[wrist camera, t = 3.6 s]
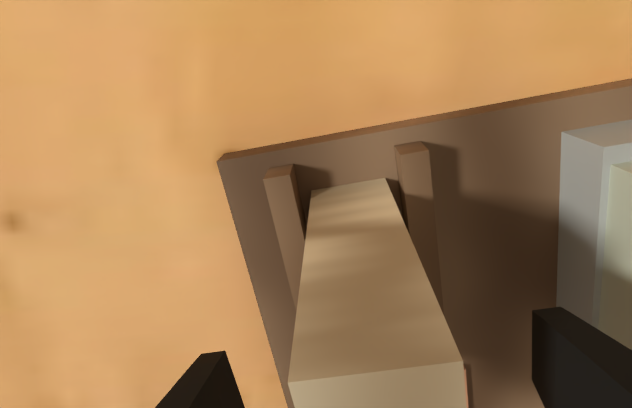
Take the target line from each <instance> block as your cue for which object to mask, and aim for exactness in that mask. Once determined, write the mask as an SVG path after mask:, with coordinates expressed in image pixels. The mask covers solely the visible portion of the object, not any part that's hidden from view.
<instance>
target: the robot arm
mask: <svg viewBox="0 0 632 408" xmlns="http://www.w3.org/2000/svg"><path fill="white" fill-rule="evenodd" d="M532 381H533V384H534V386H535V388H536V390H537V392H538V394H539V397H540V399H541V401H542V403H543V405H544V407H545V408H632V350H631V349H629V348H628V347H626V346H624V345H623V344H621V343H619V342H618V341H616V340H615V339H613V338H611V337H610V336H608V335H606V334H605V333H603V332H602V331H600V330H598V329H597V328H595V327H593V326H592V325H590V324H589V323H587V322H585V321H584V320H582V319H581V318H579V317H577V316H576V315H574V314H572V313H571V312H569V311H567V310H566V309H564V308H562V307H553V308H545V309H538V310H532ZM155 408H245V407H244V404H243V401H242V398H241V395H240V392H239V390H238V387H237V384H236V381H235V378H234V375H233V372H232V369H231V366H230V364H229V361H228V358H227V355H226V352H225V351H220V352H212V353H205V354H201V355H200V356H199V357H198V358H197V359H196V360H195V362H194V363H193V364H192V365H191V366H190V367H189V368H188V370H187V371H186V372H185V373H184V374H183V376H182V377H181V378H180V379H179V380H178V381H177V383H176V384H175V385H174V386H173V387H172V389H171V390H170V391H169V392H168V393H167V394H166V396H165V397H164V398H163V399H162V400H161V401H160V403H159V404H158V405H157V406H156V407H155Z"/></svg>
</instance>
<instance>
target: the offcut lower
mask: <svg viewBox="0 0 632 408" xmlns="http://www.w3.org/2000/svg"><path fill="white" fill-rule="evenodd" d="M629 161H632V120H626V121H620V122H615V123H609V124H603V125H597V126H592V127H586V128H580V129H575V130H569V131H563V132H561V163H560V197H559V231H558V264H557V298H556V307H562V308H564V309H566V310H567V311H569V312H571V313H572V314H574V315H576V316H577V317H579V318H581V319H582V320H584V321H585V322H587V323H589V324H590V325H592V326H593V327H595V328H597V329H598V323H599V310H600V296H601V283H602V270H603V257H604V244H605V231H606V218H607V205H608V192H609V179H610V166H611V164H617V163H623V162H629Z"/></svg>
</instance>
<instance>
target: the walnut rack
mask: <svg viewBox="0 0 632 408" xmlns="http://www.w3.org/2000/svg"><path fill="white" fill-rule="evenodd" d="M626 120H632V79H627V80H622V81H616V82H611V83H606V84H600V85H595V86H589V87H584V88H578V89H573V90H568V91H562V92H557V93H551V94H546V95H540V96H535V97H530V98H524V99H519V100H513V101H508V102H503V103H497V104H492V105H486V106H481V107H475V108H470V109H465V110H459V111H454V112H448V113H443V114H437V115H432V116H427V117H421V118H416V119H410V120H405V121H399V122H394V123H389V124H383V125H378V126H372V127H367V128H362V129H356V130H351V131H345V132H340V133H334V134H329V135H324V136H318V137H313V138H307V139H302V140H296V141H291V142H286V143H280V144H275V145H269V146H264V147H259V148H253V149H248V150H242V151H237V152H231V153H226V154H224V155H223V156H222V157H221V158H220V159H219V160H218V161H217V165H218V168H219V172H220V175H221V179H222V182H223V186H224V189H225V192H226V196H227V199H228V203H229V206H230V210H231V213H232V217H233V220H234V223H235V227H236V230H237V234H238V237H239V241H240V244H241V248H242V251H243V254H244V258H245V261H246V265H247V268H248V272H249V275H250V279H251V282H252V285H253V289H254V292H255V296H256V299H257V303H258V306H259V309H260V313H261V316H262V320H263V323H264V327H265V330H266V334H267V337H268V340H269V344H270V347H271V351H272V354H273V358H274V361H275V365H276V368H277V371H278V375H279V378H280V382H281V385H282V389H283V392H284V395H285V399H286V402H287V406H288V408H295V407H294V403H293V400H292V396H291V393H290V389H289V386H288V376H289V368H290V360H291V352H292V344H293V336H294V328H295V320H296V312H297V304H298V296H299V287H300V279H301V271H302V263H303V255H304V247H305V239H306V231H307V223H308V215H309V207H310V199H311V191H312V190H317V189H323V188H329V187H335V186H341V185H347V184H352V183H358V182H364V181H370V180H376V179H382V178H385V179H386V181H387V183H388V186H389V188H390V191H391V193H392V195H393V198H394V200H395V202H396V205H397V207H398V209H399V212H400V214H401V216H402V219H403V221H404V223H405V226H406V228H407V230H408V233H409V235H410V238H411V240H412V242H413V245H414V247H415V249H416V252H417V254H418V256H419V259H420V261H421V263H422V266H423V268H424V270H425V273H426V275H427V277H428V280H429V282H430V285H431V287H432V289H433V292H434V294H435V296H436V299H437V301H438V303H439V306H440V308H441V310H442V313H443V315H444V317H445V320H446V322H447V324H448V327H449V329H450V331H451V334H452V336H453V339H454V341H455V343H456V346H457V348H458V350H459V353H460V355H461V357H462V360H463V367H464V380H465V394H466V407H467V408H545V407H544V405H543V403H542V401H541V399H540V397H539V394H538V392H537V390H536V388H535V386H534V384H533V381H532V310H538V309H545V308H553V307H556V298H557V264H558V231H559V197H560V163H561V132H563V131H569V130H575V129H580V128H586V127H592V126H597V125H603V124H609V123H615V122H620V121H626Z"/></svg>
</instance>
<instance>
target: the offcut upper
mask: <svg viewBox="0 0 632 408" xmlns="http://www.w3.org/2000/svg"><path fill="white" fill-rule="evenodd" d="M598 330H600V331H602V332H603V333H605V334H606V335H608V336H610V337H611V338H613V339H615V340H616V341H618V342H619V343H621V344H623V345H624V346H626V347H628V348H629V349H631V350H632V161H629V162H623V163H617V164H611V166H610V179H609V192H608V205H607V218H606V231H605V244H604V257H603V270H602V283H601V296H600V310H599V323H598Z"/></svg>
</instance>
